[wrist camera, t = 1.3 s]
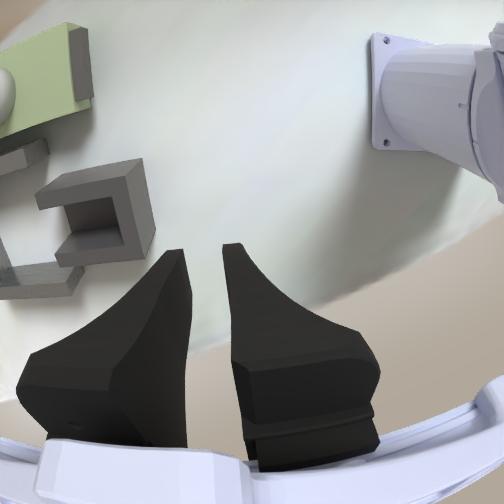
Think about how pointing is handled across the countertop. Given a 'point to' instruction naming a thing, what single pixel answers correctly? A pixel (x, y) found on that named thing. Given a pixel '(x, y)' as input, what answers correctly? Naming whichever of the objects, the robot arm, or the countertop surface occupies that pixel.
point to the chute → (102, 213)
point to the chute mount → (37, 275)
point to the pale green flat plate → (45, 78)
